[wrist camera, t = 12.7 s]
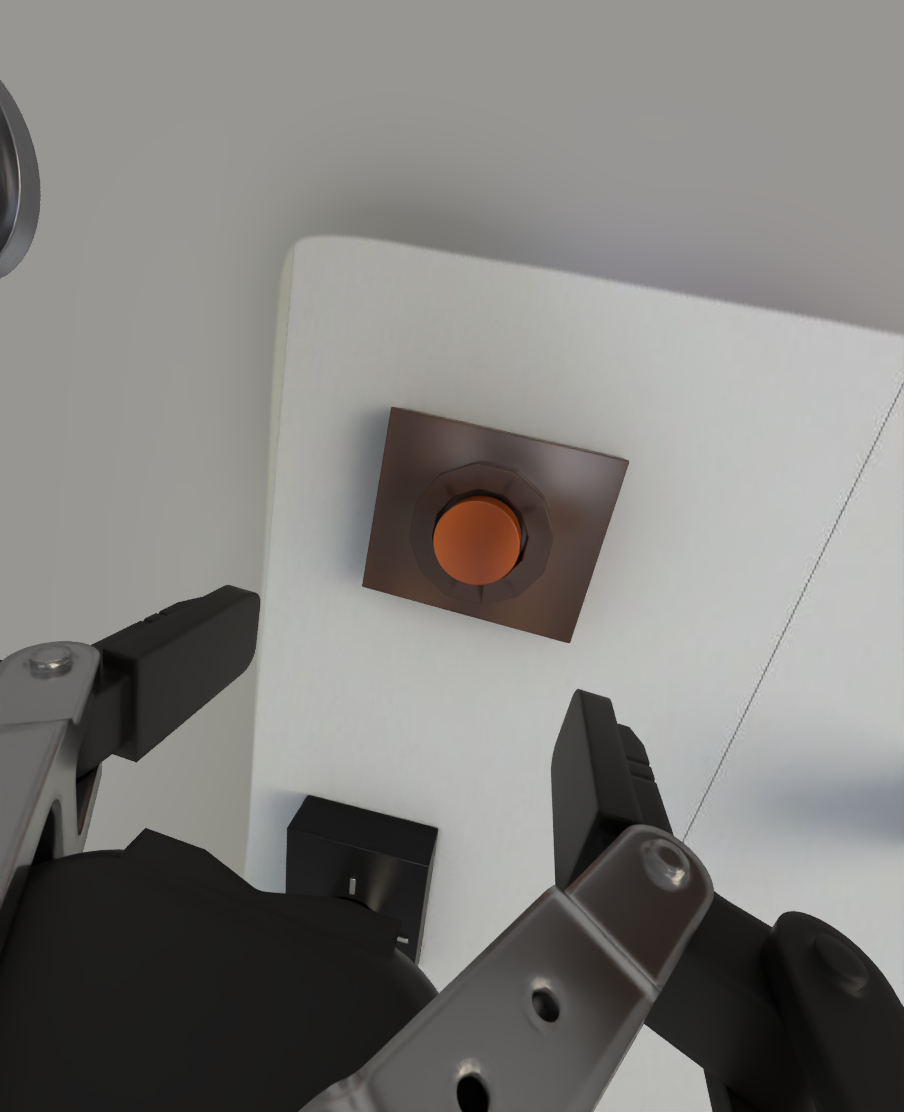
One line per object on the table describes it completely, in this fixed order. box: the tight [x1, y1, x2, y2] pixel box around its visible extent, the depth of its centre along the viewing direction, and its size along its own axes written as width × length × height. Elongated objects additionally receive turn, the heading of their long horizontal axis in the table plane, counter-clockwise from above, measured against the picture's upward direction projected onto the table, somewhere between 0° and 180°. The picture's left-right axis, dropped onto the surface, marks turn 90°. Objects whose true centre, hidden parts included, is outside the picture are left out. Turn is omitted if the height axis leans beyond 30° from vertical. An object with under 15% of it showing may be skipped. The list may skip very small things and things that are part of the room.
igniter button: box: [433, 495, 521, 585], centre depth 22 cm, size 4×4×2 cm
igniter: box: [362, 407, 629, 643], centre depth 24 cm, size 12×10×4 cm
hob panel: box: [286, 795, 438, 967], centre depth 34 cm, size 14×10×3 cm
